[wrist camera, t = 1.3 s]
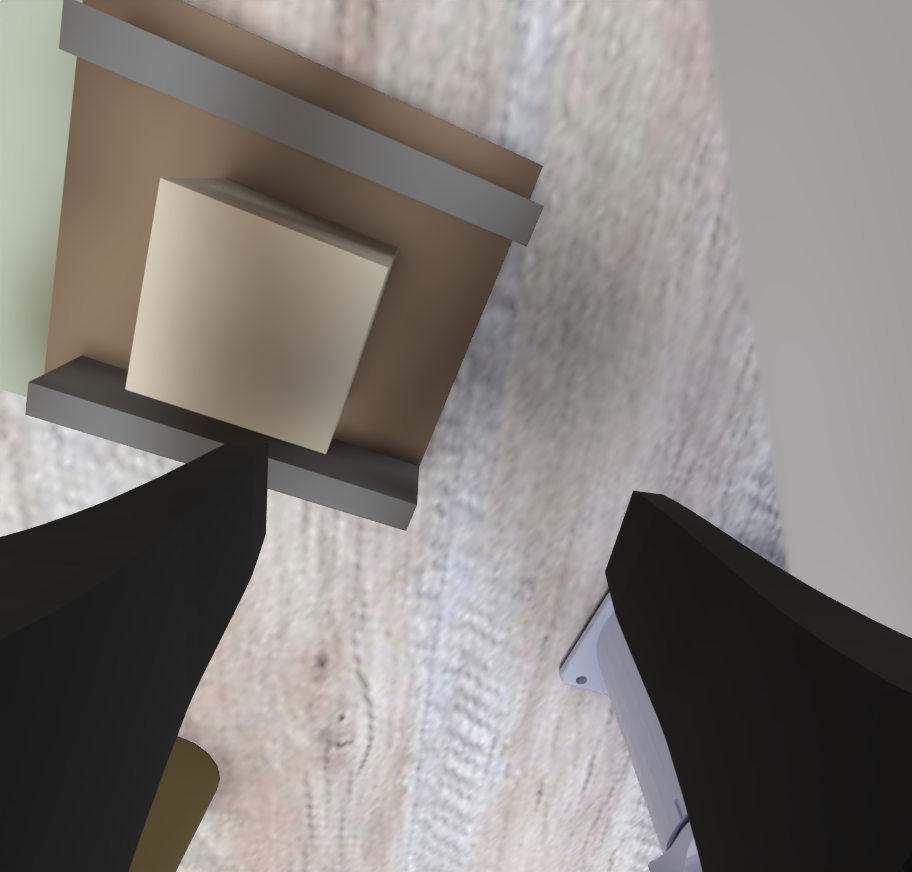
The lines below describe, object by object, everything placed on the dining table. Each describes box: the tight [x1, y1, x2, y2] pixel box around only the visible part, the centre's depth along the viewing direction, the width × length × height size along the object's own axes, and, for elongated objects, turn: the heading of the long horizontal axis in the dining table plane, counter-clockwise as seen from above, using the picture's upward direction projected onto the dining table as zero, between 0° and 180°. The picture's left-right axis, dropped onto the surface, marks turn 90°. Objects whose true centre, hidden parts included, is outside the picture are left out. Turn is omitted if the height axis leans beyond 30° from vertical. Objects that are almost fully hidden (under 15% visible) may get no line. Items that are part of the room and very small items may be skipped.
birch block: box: [125, 178, 398, 454], centre depth 15 cm, size 5×5×4 cm
